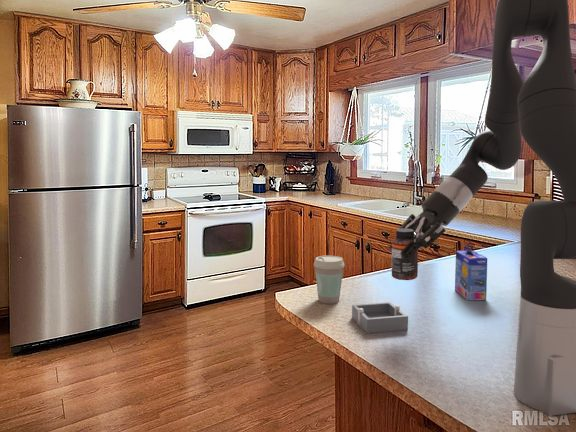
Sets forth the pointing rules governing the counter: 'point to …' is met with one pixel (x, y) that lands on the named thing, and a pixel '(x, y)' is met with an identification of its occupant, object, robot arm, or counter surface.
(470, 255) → the ink cartridge box
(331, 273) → the coffee cup
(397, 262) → the supplement bottle
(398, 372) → the counter surface
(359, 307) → the tray
